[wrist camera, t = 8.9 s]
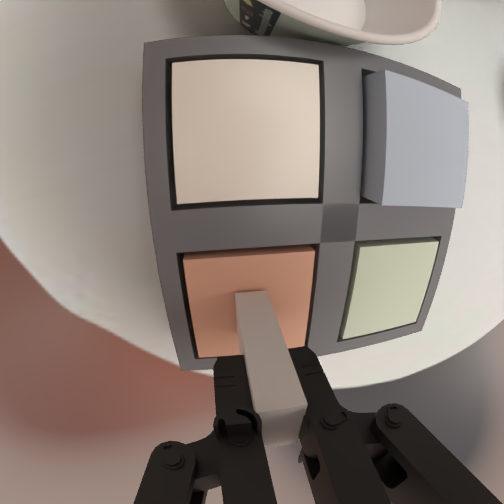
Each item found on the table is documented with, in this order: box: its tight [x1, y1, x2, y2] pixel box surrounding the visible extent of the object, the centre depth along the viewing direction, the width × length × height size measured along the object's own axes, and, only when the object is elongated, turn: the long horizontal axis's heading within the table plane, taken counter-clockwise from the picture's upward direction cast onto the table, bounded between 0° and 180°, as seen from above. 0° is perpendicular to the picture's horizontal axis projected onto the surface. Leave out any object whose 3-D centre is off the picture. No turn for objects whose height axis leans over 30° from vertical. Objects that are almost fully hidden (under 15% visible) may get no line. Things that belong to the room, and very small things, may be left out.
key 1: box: [339, 237, 439, 339], centre depth 15 cm, size 6×6×2 cm
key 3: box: [360, 70, 469, 208], centre depth 11 cm, size 6×6×2 cm
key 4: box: [172, 59, 320, 204], centre depth 11 cm, size 6×6×2 cm
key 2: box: [183, 244, 315, 358], centre depth 14 cm, size 6×6×2 cm
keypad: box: [142, 35, 461, 370], centre depth 14 cm, size 17×17×4 cm
